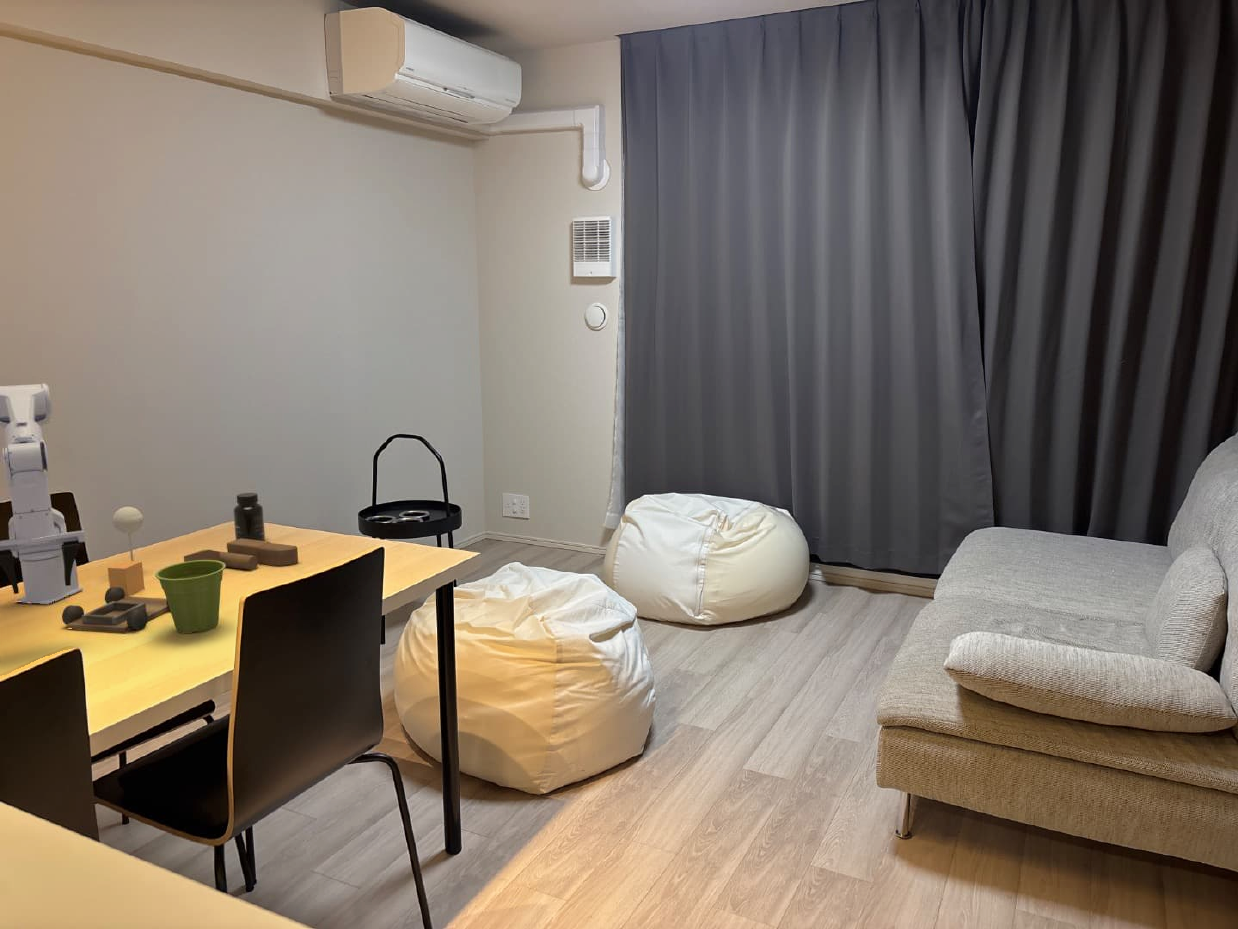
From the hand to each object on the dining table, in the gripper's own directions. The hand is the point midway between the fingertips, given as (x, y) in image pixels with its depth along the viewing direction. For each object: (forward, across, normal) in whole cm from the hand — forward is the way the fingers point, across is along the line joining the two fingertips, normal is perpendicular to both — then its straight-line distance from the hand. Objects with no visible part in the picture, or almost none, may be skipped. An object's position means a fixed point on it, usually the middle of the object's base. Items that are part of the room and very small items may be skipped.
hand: (42, 589), depth 161 cm
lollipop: (+4, +19, +40) cm, 45 cm away
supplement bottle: (+2, +46, +52) cm, 70 cm away
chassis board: (+9, +13, +10) cm, 19 cm away
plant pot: (+11, +23, -4) cm, 26 cm away
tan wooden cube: (+6, +16, +26) cm, 31 cm away
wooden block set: (+6, +39, +30) cm, 49 cm away
